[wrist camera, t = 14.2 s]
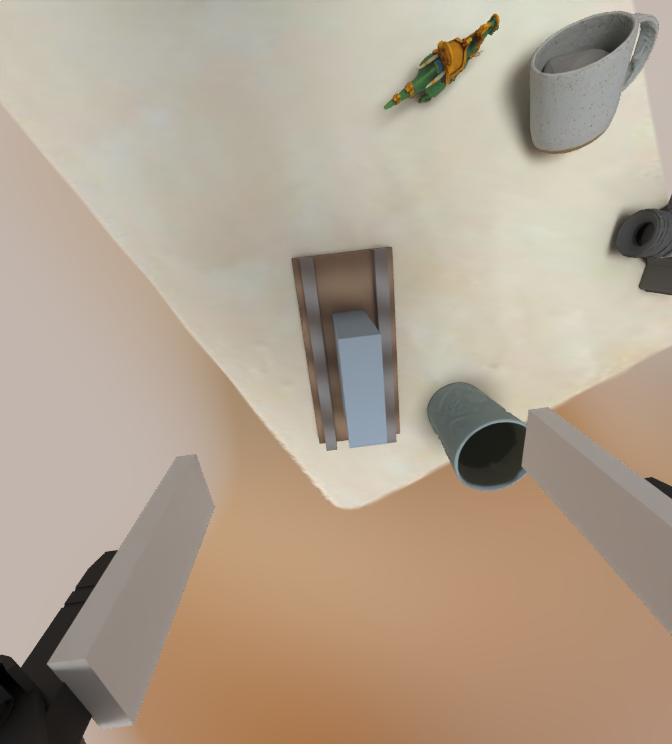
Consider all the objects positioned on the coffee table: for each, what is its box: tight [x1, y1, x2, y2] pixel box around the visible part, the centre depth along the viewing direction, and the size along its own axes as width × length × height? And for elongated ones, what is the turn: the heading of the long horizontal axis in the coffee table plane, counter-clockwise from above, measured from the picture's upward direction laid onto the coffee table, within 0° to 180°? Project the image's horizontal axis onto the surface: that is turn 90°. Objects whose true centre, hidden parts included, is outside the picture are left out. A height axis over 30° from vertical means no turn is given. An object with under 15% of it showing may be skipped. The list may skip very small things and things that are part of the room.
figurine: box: [384, 14, 499, 110], centre depth 31 cm, size 3×12×8 cm, turn 123°
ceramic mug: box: [530, 11, 659, 154], centre depth 31 cm, size 11×8×8 cm
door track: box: [292, 247, 400, 451], centre depth 43 cm, size 26×12×4 cm, turn 6°
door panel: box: [332, 310, 387, 448], centre depth 38 cm, size 12×4×12 cm, turn 6°
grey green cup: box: [428, 383, 527, 491], centre depth 43 cm, size 10×10×12 cm
